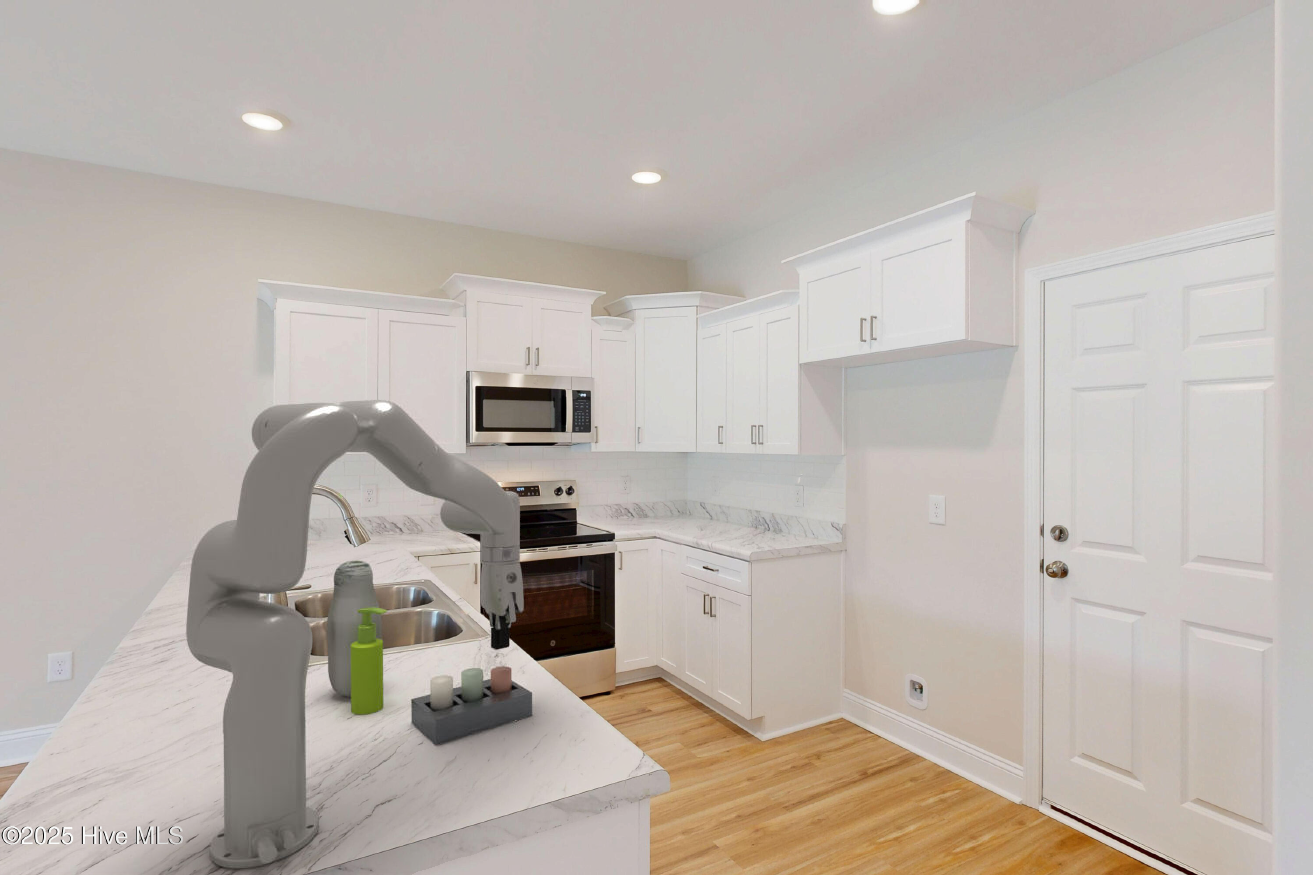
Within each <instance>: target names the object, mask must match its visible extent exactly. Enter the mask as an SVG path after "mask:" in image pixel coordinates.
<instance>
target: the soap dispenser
mask: <svg viewBox="0 0 1313 875" xmlns="http://www.w3.org/2000/svg"><path fill="white" fill-rule="evenodd" d="M387 612H388V610H387V609H385V608H381V607H380V608H376V607H368V608H362V609H359V610H358V613H362V624H360V625H359V626H358V641H356V642H354V643H352V644H351V697H350V702H351V703H350V708H351V710H350V711H351V713H352V714H354V715H358V716H359V715H369V714H374V713H376V712H379V711H381V710H382V709H383V708H384V640H383V639H382V640H381V639H376V624H374V623H373V622H371V613H375V614H379V615H381V616H382V615H383V614H386V613H387Z"/></svg>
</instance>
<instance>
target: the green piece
mask: <svg viewBox="0 0 1313 875" xmlns="http://www.w3.org/2000/svg"><path fill="white" fill-rule="evenodd" d="M460 676H461V682H460V683H461V684H460V685H461V686H460V687H461V691H462V701H465V702H472V701H475V700H479V699H482V698H483V681H484V670H483V669H482V668H478V667H472V668H471V667H470V668H466V669H464V670H462V671H461V675H460Z"/></svg>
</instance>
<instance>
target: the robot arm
mask: <svg viewBox="0 0 1313 875" xmlns="http://www.w3.org/2000/svg"><path fill="white" fill-rule="evenodd" d="M251 439H252V442H253V444H254V446H255V448H256V449H257V453H256V454H255V455H254V457H253V459H252V460H251V461H250V463H249V465H248V467H247V469H246V471H245V473H244V476H243V479H242V482H241V490H240V495H239V502H238V509H237V514H236V515H237V516H236V519H234V520H233V519H232V520H227V521H223V522H221V523H219V524H217V525H215V526H213V527H212V528H210V529H208V531H207V532H206V533H205V534H204V535H203V536H202V537H201V538H200V541H199V542H198V543H197V545H196V547H195V550H194V553H193V556H192V559H191V563H190V564H191V566H190V574H189V588H188V599H187V611H186V612H187V613H186V624H185V625H186V626H185V628H186V629H185V631H186V632H185V635H186V636H185V637H186V643H187V646H188V649H189V651H190V654H191V655H192V656H193V657H194V658H195V659H196V660H197V661H198V662H200V663H202V664H203V665H206V666H208V667H212V668H215V669H219V670H221V671H227V672H228V673H232V681H231V685H230V688H229V691H228V693H227V696H226V699H225V702H224V708H223V716H222V733H223V810H224V811H223V816H224V820H223V827H224V828H222V829H221V830H220V831H219V832H218V833H216V835H215V836H214V837H213V839H212V841H211V842H210V847H209V857H210V859H211V861H212V862H213V863H215V864H216V865H217V866H220V867H224V868H227V869H228V868H229V869H247V868H254V867H255V868H256V867H258V866H263V865H267V864H271V863H273V862H276V861H279V860H281V859H283V858H286V857H288V856H290V855H292V854H294V853H296V852H297V851H299V850H300V849H302V848H304V846H306V845H307V844H308V843H310V841H311V840H312V839H313V838H314V837H315V836H316V834H317V832H318V831H319V830H318V829H319V827H320V826H319V825H320V824H319V823H320V822H319V821H320V820H319V819H320V818H319V814H318V813H317V812H316V811H315V810H314V809H312V808H310V807H307V766H306V763H307V762H306V761H307V760H306V759H307V758H306V757H307V756H306V753H307V752H306V750H307V748H306V746H307V745H306V744H307V743H306V742H307V741H306V740H307V739H306V738H307V735H306V732H307V731H306V730H307V729H306V689H307V688H306V685H307V677H308V676H307V675H308V669H309V664H310V659H311V655H312V654H311V653H312V649H313V631H312V628H311V625H310V623H309V621H308V620H307V618H306V617H305V616H304V615H303V614H302V613H301V612H299V611H298V610H296V609H294V608H292V607H291V606H286V605H284V604H280V603H275V602H274V603H273V602H268V601H263V600H260V597H261V596H260V595H261V594H262V595H263V594H264V595H270V594H271V595H272V594H273V595H275V594H280V593H285V592H287V591H289V590H291V589H293V588H294V587H296V586H297V585H298V584H299V582H300V581H301V579H302V578H303V575H304V572H305V569H306V564H307V563H306V562H307V557H308V556H307V555H308V541H309V528H310V527H309V526H310V512H311V511H310V510H311V504H312V503H311V502H312V496H313V491H314V488H315V486H316V483H317V481H318V480H319V478H320V477H321V475H322V474H323V472H324V471H325V470H326V469H327V468H328V467H330V465H331V464H333V463H334V462H336V461H337V460H338V459H340V458H342V456H344V455H345V454H346V453H366V454H369V455H371V456H372V457H373V458H375V459H376V460H377V461H378V462H379V463H380V464H382V465H383V467H385V468H386V469H387V470H389V472H391V474H393V475H394V476H395V477H396V478H397V479H398V480H399V481H400V482H401V483H403V484H404V485H405V486H406V487H408V489H411V490H413V491H415V492H418V493H420V494H422V495H425V496H429V497H433V498H436V499H440V500H444V502H443V503H442V505H441V506H440V511H439V512H440V514H439V515H440V516H439V517H440V520H441V522H442V524H443V525H444V526H445V527H446V529H448V530H450V531H451V532H452V531H453V532H455V533H462V534H470V535H471V534H473V535H475V534H476V535H480V564H481V574H480V588H479V589H480V590H479V591H480V596H479V598H480V604H481V607H482V608H484V610H485V612H486V614H487V615H488V616H489V627H490V647H491V649H493V650H495V651H498V650H502V649H506V648H507V649H508V648H509V647H510V643H511V642H510V638H511V637H510V636H511V635H510V634H511V633H510V628H511V626H512V623H514V622H516V620H517V616H516V613H518V614H520V613H523V611H524V603H525V601H524V584H523V575H522V574H523V573H522V567H521V563H520V560H521V558H520V556H521V554H520V553H521V548H520V547H521V546H520V545H521V544H520V540H521V538H520V536H521V533H520V531H521V530H520V529H521V528H520V527H521V525H520V524H521V522H520V520H521V519H520V518H521V514H520V513H521V509H520V508H521V505H520V503H521V501H520V500H521V499H520V495H519V494H518V493H517V492H515V491H511V490H504V489H503V488H502V486H500V485H499V483H498V482H497V481H496V480H495V479H493V478H492V477H491V476H490V475H488V474H487V473H485V472H483V471H482V470H481V469H478V468H476V467H475V466H473V465H471V464H469V463H468V462H465V461H464V460H462V459H460V458H458V457H456V456H454V455H452V454H450V453H448V452H446V451H445V450H444V449H443V448H442V447H441V446H440V445H439V444H438V443H437V442H436V441H435V440H434V439H433V438H432V437H431V436H430V435H429V434H428V433H427V432H426V431H425V430H424V429H423V428H422V427H421V426H420V425H419V424H418V423H417V422H416V421H415V420H414V419H413V418H412V417H411V416H410V415H409V414H408V413H407V411H405V410H404V409H403V408H402V407H401V406H399V405H398V404H396V403H394V401H393V402H392V401H390V400H385V399H384V400H383V399H378V400H377V399H371V400H369V399H368V400H367V399H365V400H349V401H340V402H306V403H296V404H295V403H293V404H290V403H289V404H278V405H273V406H270V407H267V408H266V409H265V410H263V411H262V412H260V413H259V414H258V415H257V417H256V418H255V420H254V421H253V423H252V428H251Z"/></svg>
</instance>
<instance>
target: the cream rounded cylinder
mask: <svg viewBox="0 0 1313 875" xmlns="http://www.w3.org/2000/svg"><path fill="white" fill-rule="evenodd" d="M429 683H430V684H429V685H430V686H429V687H430V689H429V690H430V692H429V693H430V708H431V709H432V710H436V711H439V710H443V709H446V708H450V707H452V706H453V688H454V677H453V676H452V675H446V674H445V675H438V676H434V677H431V679H430V682H429Z"/></svg>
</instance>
